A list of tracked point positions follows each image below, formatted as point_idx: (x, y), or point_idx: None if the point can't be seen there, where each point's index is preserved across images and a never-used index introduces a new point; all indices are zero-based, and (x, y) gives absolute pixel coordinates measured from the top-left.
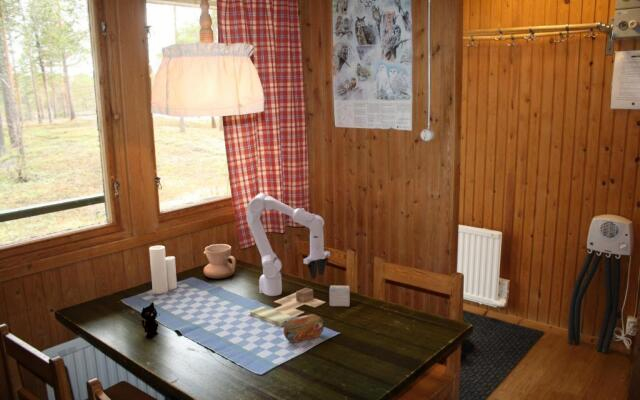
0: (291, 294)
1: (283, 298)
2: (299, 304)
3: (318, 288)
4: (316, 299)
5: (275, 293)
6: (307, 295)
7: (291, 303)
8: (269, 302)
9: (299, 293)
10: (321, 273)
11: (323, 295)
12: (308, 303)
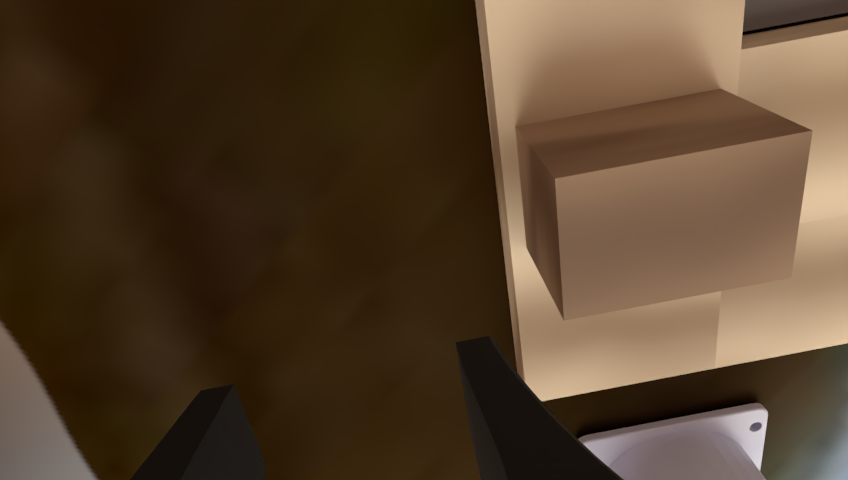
0: (601, 387)
1: (746, 348)
2: (793, 82)
3: (176, 407)
4: (503, 73)
5: (739, 466)
6: (675, 131)
7: (819, 178)
8: (810, 387)
9: (789, 206)
10: (233, 436)
11: (251, 210)
12: (692, 26)
